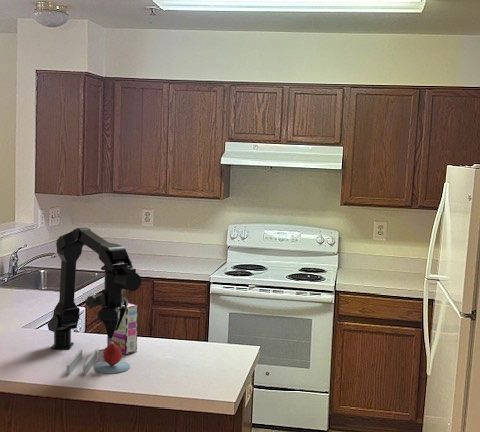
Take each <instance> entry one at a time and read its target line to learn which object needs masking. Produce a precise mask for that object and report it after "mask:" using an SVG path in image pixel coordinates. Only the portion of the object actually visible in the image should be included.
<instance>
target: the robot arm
mask: <svg viewBox="0 0 480 432" xmlns="http://www.w3.org/2000/svg"><path fill="white" fill-rule="evenodd" d="M55 245H56V254H57V255H58V257H59V258H60V262H61V263H60V279H59V280H60V281H59V300H58V302H57V304H56V306H55V307H54V309H53V314H52V317H51V318H50V320H49V321H48V323H47V329H48V331H51V332H53V344H52V345H51V346H50V349H53V350H54V349H56V350H70V349H71V348H72V347H73V346H74V344H75V343H74V342H72V330H73V329H77V328H78V323H79V320H80V307H78V306H77V304H76V303H75V292H76V290H75V289H76V272H77V261H78V260H79V258H80V257H81V255H82V253H83V247H84V246H86V247H87V248H89V249H91V250H92V251H93V252H95V253H96V254H97V255H98V260H100V262H101V263H102V264H103V266H101V267H100V270H101V271H104V282H103V283H104V289H103V290H102V292H101V293H97V294H91V295H90V296H87V298H85V306H87V308H88V310H92V309H93V308H96V307H99V306H101V307H100V309H99V311H97V317H96V318H97V319H98V320H99V321H101V322H102V323H103V324H104V327H105V330H106V334H107V335H108V338H109V339H112V337H113V334H114V332H115V330H118V328H119V326H120V323H121V321H122V319H123V316H124V314H125V312H126V309H127V306H128V303H129V299H128V298H127V297H126V296H124V292H125V291H129V292H136V291H137V290H139V288H140V286H141V284H142V278H141V276H140V275H139V273H137V269H136V268H133V263H132V261H131V259H130V257H129V254H128V252H127V250H126V248H125V246H123V245H120V244H117V243H113V242H109V241H107V240H106V239H104V238H102V237H101V236H99V235H98V234H96V233H95V232H94V231H92V229H90V227H76V228H73V230H72V231H70V232H67V233H65V234H63V235H60V236H59V237H58V238H57V239H56V242H55ZM123 305H125V307H123ZM107 335H106V336H107Z"/></svg>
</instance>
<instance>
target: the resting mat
mask: <svg viewBox="0 0 480 432" xmlns="http://www.w3.org/2000/svg"><path fill="white" fill-rule="evenodd" d="M130 369H131V365H130V363H128V362H126V361H122V360H120V361H119V362H118V363H117V364H115V365H114V366H110V365H109V364H108V363H107V362H106V361H105V360H104V361H102V362H99V363H96V364H95V366H94V371H96V372H98V373H101V374H106V375H107V374H111V375H112V374H113V375H114V374H121V373H124V372H127V371H129V370H130Z"/></svg>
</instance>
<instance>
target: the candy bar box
mask: <svg viewBox="0 0 480 432" xmlns="http://www.w3.org/2000/svg"><path fill="white" fill-rule="evenodd" d="M123 307H125V305H123ZM138 309H139V308H138V305H137V304H133V303H130V302H128V306H127V309H126V312H125V314H124V316H123V319H122V321H121V323H120V326H119V328H118V330H115V332H114V334H113V337H112V339H109V338H108V335H106V336H107V338H106V339H107V340H106V344H107V345H106V347H107V346H109V345H110V343H111V342H113V343H114V344H115V345H117V346H118V347H119V348H120V350H121V352H122V354H125V355H130V354H133V353H137V351H138V315H139V314H138V313H139V312H138V311H139V310H138Z"/></svg>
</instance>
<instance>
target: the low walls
mask: <svg viewBox="0 0 480 432" xmlns="http://www.w3.org/2000/svg"><path fill="white" fill-rule="evenodd" d="M82 360H83V349H79V350H78V351H77V352H76V354H75V355H74V356H73V358H71V360H70V361H69V362H68V364H67V365H66V375H67V376H70V375H71V373H72V372H73V371H74V370H75V369H76V367H77V366H78V365H79V363H80V362H81V361H82ZM96 361H98V350H97V349H95V350H93V352H92V354H90V356H89V357H88V359H87V360H86V362H85V363H84V364H83V366H82V367H83V368H82V371H83V372H82V376H87V375H88V373H89V372H90V371H91V369H92V367H94V364H95V363H96Z"/></svg>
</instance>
